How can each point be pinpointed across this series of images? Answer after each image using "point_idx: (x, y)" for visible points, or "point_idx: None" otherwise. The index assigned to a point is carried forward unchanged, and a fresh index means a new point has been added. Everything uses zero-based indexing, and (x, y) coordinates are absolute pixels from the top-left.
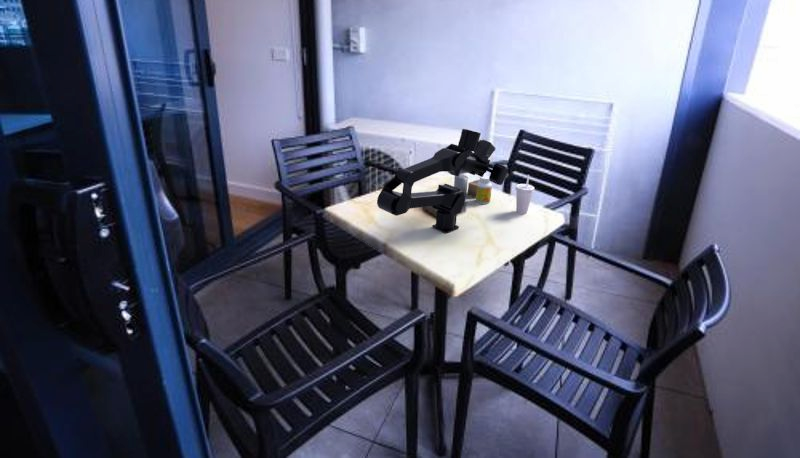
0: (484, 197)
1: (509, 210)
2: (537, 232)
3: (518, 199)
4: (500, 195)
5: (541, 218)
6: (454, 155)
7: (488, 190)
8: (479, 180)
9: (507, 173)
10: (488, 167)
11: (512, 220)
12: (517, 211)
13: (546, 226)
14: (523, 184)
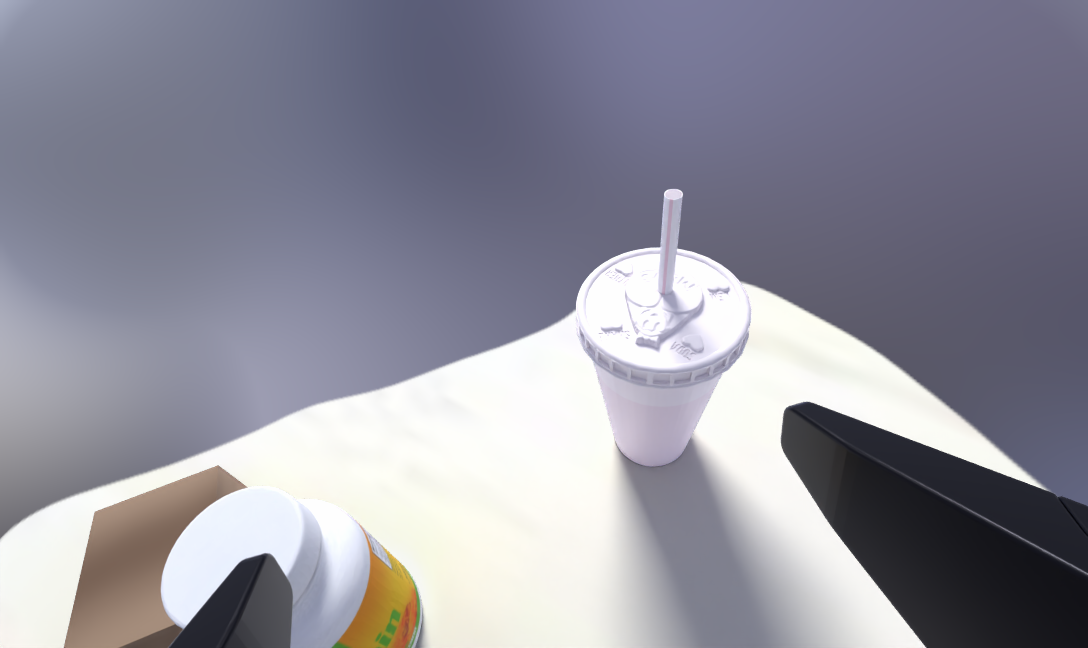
0: (393, 641)
1: (601, 499)
2: None
3: (677, 420)
4: (341, 425)
5: (770, 367)
6: None
7: (379, 583)
8: (115, 514)
9: (897, 445)
10: (285, 592)
11: (803, 582)
12: (658, 462)
13: (910, 398)
14: (592, 291)
